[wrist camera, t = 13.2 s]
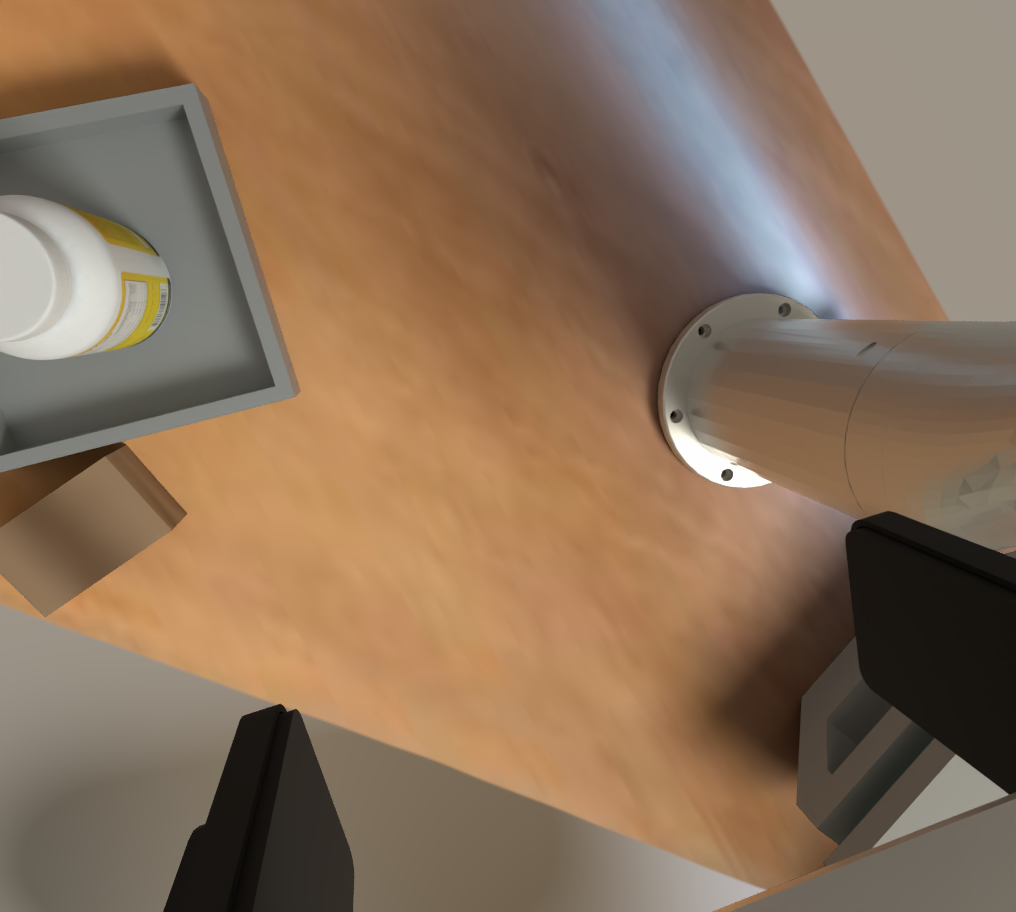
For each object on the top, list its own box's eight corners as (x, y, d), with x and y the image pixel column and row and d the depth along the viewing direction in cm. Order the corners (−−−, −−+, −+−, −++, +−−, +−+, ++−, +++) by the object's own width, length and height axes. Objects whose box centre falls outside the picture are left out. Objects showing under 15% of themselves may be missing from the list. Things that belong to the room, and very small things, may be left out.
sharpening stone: (962, 512, 49) (1122, 567, 38) (1017, 571, 51) (1182, 638, 41) (742, 764, 50) (840, 884, 39) (806, 811, 52) (914, 936, 42)
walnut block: (126, 444, 37) (105, 456, 34) (187, 513, 38) (171, 530, 35) (4, 527, 36) (-28, 546, 33) (70, 594, 38) (45, 617, 35)
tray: (207, 99, 34) (194, 82, 31) (300, 391, 38) (295, 397, 35) (-120, 162, 32) (-162, 149, 29) (14, 464, 36) (-13, 475, 33)
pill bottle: (34, 216, 33) (-141, 166, 22) (173, 227, 34) (75, 184, 23) (46, 347, 34) (-115, 363, 23) (179, 352, 36) (88, 370, 24)
